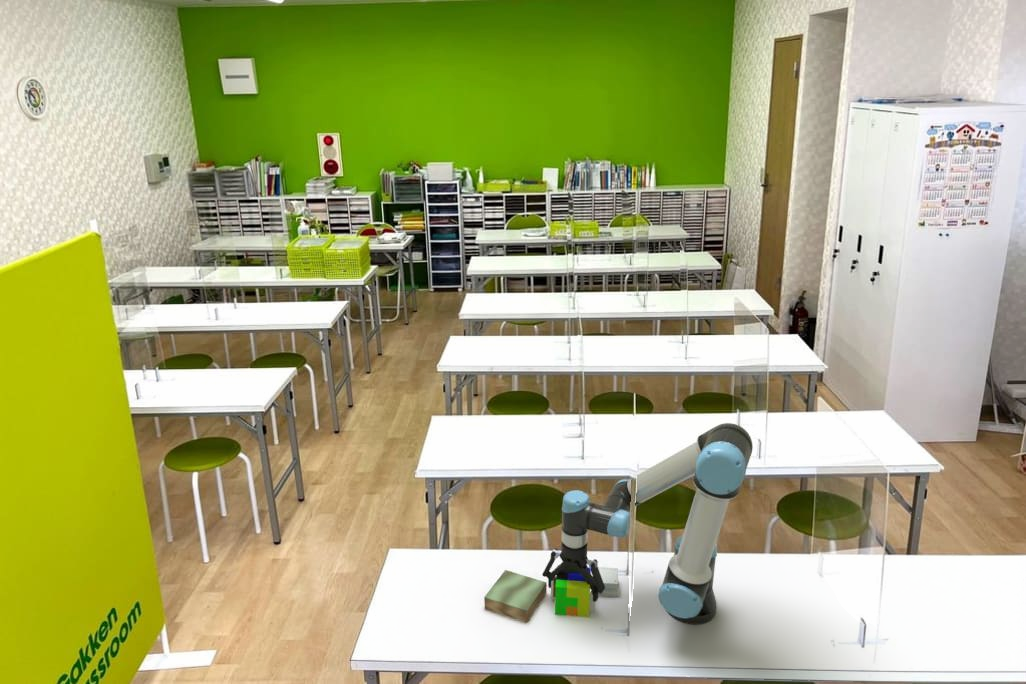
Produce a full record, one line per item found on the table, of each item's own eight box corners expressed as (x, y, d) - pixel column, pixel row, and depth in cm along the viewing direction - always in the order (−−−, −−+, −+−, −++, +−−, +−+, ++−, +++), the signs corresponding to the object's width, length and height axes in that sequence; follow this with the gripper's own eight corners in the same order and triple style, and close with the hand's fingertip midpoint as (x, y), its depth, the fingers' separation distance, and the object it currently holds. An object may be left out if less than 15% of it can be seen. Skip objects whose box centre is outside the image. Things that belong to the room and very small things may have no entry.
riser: (546, 593, 234) (546, 582, 233) (527, 622, 222) (527, 610, 221) (505, 581, 240) (505, 569, 238) (484, 608, 228) (484, 597, 227)
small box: (617, 581, 240) (618, 567, 238) (617, 597, 233) (618, 583, 231) (592, 579, 241) (593, 565, 239) (592, 596, 234) (592, 582, 232)
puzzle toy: (589, 594, 234) (590, 567, 230) (588, 617, 225) (589, 589, 221) (557, 592, 235) (557, 565, 231) (554, 614, 226) (555, 586, 222)
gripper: (618, 545, 220) (614, 606, 228) (541, 524, 230) (541, 583, 237) (609, 559, 214) (606, 622, 221) (531, 537, 223) (531, 598, 231)
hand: (572, 602), depth 229 cm, fingers closed on puzzle toy, 12 cm apart
